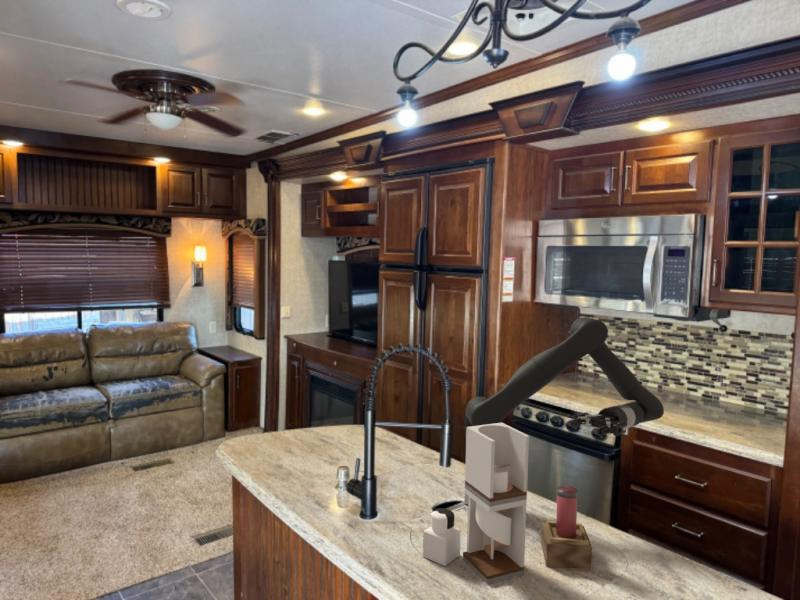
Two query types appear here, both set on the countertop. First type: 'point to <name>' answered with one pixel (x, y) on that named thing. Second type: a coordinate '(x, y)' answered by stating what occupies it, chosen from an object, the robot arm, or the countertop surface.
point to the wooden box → (566, 548)
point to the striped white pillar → (496, 500)
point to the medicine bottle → (442, 538)
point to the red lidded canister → (566, 512)
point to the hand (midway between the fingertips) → (584, 427)
